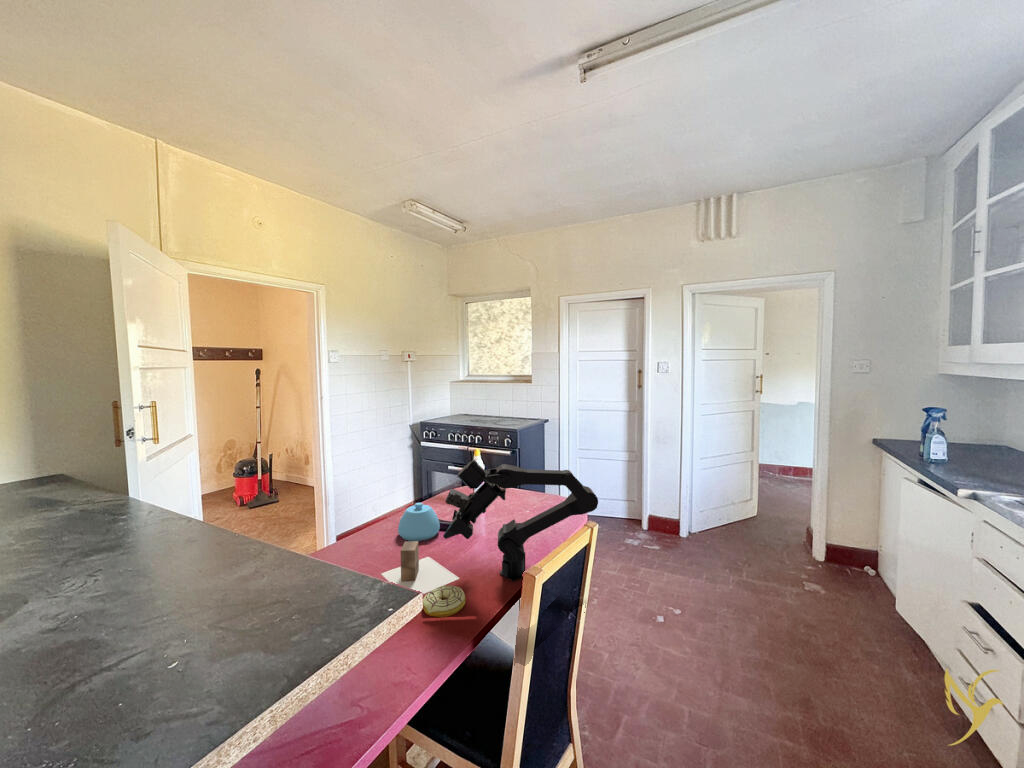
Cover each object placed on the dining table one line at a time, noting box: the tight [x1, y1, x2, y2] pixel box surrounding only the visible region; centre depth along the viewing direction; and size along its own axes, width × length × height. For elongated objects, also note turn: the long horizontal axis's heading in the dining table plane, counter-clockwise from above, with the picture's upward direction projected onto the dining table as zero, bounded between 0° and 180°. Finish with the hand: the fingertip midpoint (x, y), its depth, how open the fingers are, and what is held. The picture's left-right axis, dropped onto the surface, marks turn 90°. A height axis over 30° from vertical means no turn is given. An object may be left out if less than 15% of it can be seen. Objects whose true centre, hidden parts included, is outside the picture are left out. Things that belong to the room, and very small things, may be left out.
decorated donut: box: [422, 584, 466, 619], centre depth 103 cm, size 10×11×4 cm
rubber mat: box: [380, 556, 461, 595], centre depth 117 cm, size 16×18×1 cm
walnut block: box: [400, 540, 420, 582], centre depth 117 cm, size 4×6×9 cm, turn 3°
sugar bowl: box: [397, 502, 441, 542], centre depth 148 cm, size 15×15×12 cm
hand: (444, 537), depth 118 cm, fingers closed
